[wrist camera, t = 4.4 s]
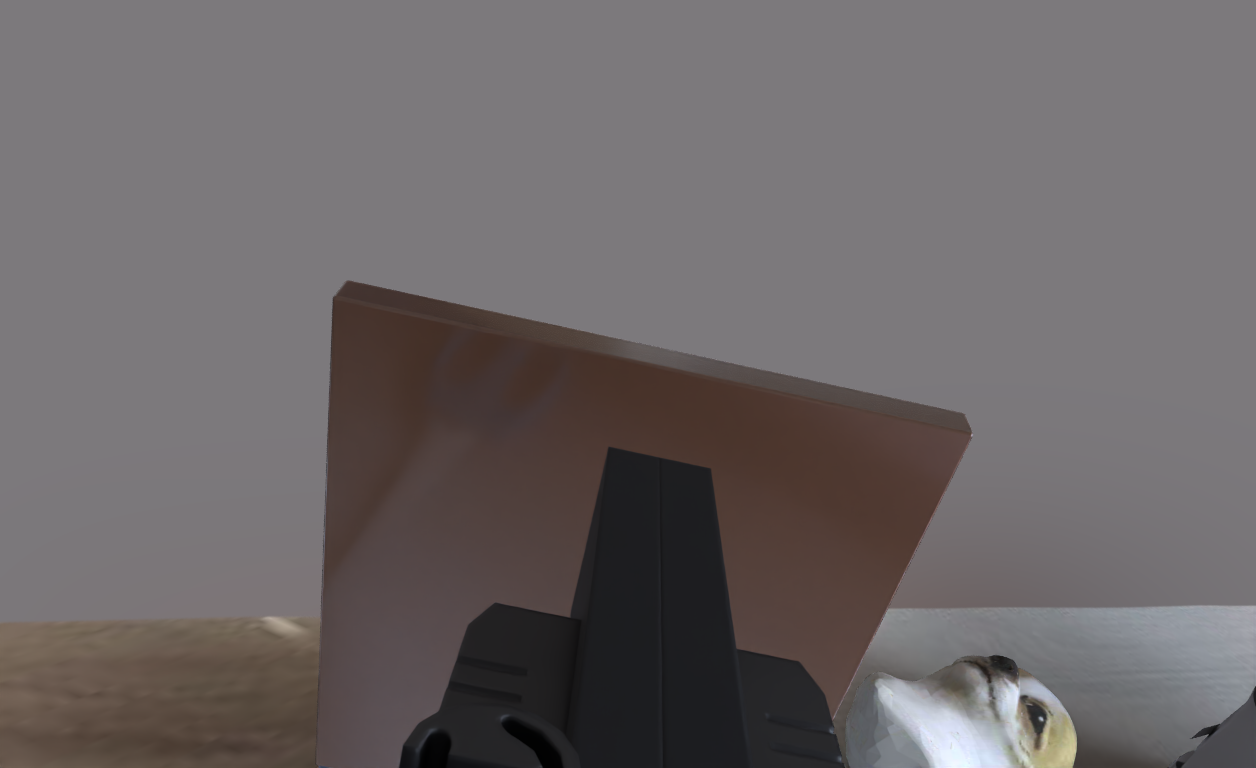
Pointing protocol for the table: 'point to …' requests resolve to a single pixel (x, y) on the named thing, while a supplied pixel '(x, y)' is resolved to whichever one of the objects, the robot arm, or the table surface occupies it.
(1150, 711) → the table surface
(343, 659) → the caddy lid
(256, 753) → the table surface
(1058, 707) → the ceramic sculpture
